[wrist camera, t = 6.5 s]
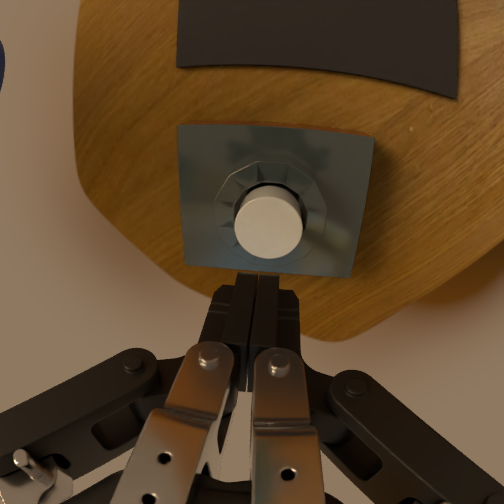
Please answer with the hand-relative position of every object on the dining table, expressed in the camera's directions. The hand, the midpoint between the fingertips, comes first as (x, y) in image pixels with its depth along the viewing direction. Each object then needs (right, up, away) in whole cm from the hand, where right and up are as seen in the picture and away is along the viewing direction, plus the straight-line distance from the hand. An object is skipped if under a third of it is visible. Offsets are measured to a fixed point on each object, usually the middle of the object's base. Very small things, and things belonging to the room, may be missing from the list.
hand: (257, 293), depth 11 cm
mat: (+5, +21, +2) cm, 21 cm away
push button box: (+1, +6, +10) cm, 12 cm away
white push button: (+1, +4, +6) cm, 8 cm away
